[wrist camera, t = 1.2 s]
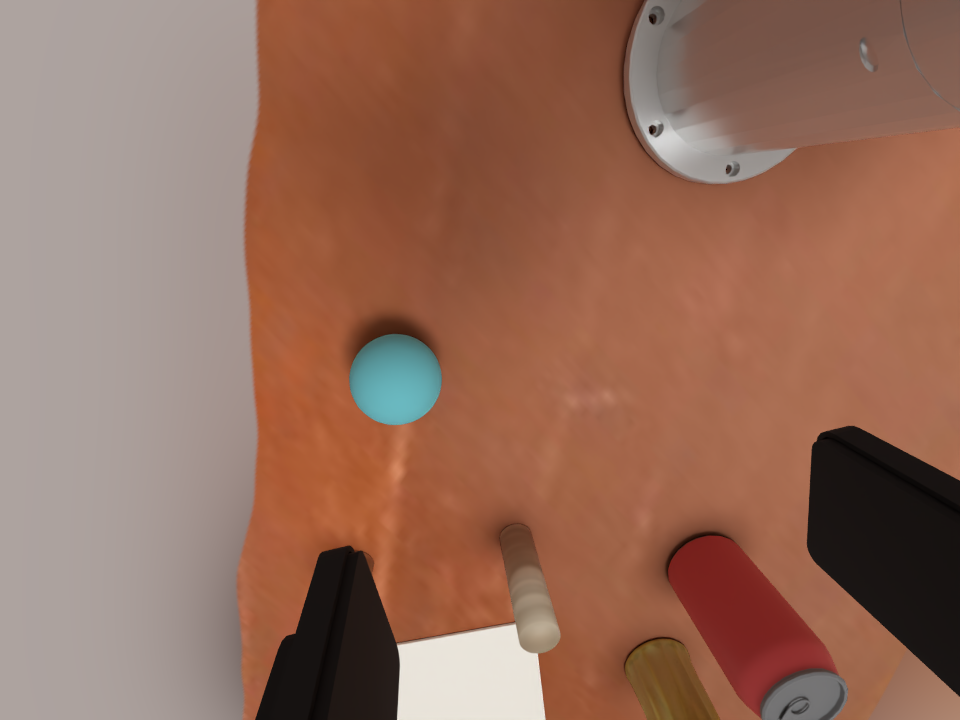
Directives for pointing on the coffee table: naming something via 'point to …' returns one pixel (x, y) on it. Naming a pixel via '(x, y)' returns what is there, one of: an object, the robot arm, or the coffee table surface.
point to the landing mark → (469, 677)
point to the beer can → (755, 633)
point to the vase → (668, 682)
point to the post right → (528, 591)
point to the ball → (395, 379)
